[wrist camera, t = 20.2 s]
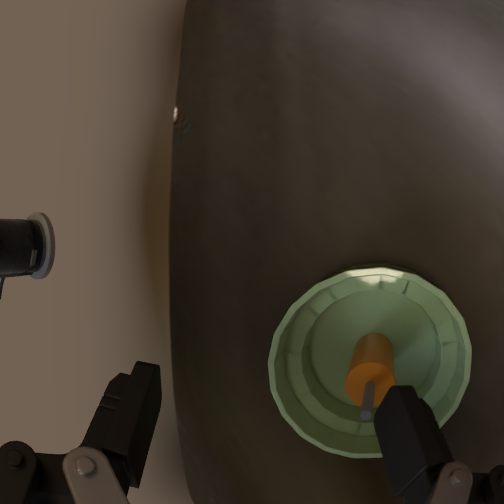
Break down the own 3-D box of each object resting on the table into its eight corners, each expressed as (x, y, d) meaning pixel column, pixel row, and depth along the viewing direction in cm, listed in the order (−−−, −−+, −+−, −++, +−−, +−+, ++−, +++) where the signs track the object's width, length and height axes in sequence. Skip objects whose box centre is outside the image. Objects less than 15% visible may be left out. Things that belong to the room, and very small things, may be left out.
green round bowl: (354, 446, 26) (345, 483, 21) (258, 335, 30) (230, 355, 24) (483, 354, 22) (504, 379, 16) (383, 224, 25) (385, 220, 20)
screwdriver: (369, 377, 25) (358, 448, 15) (346, 349, 26) (323, 410, 16) (400, 353, 24) (408, 418, 14) (377, 324, 25) (373, 376, 15)
